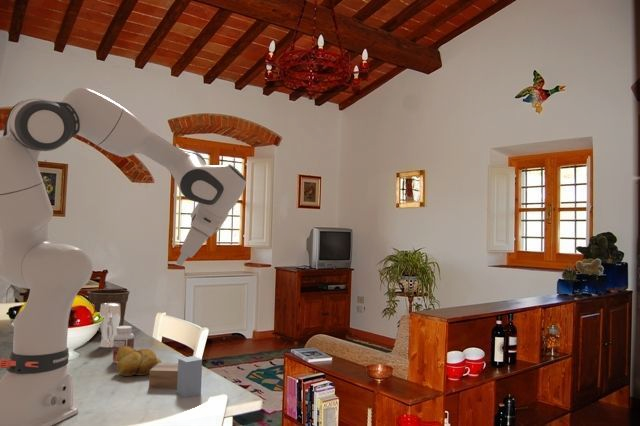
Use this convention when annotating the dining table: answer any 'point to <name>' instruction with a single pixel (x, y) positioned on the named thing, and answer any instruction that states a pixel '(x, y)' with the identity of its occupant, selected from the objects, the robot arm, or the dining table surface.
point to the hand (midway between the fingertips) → (181, 258)
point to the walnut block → (164, 376)
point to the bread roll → (135, 361)
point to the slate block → (189, 376)
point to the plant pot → (110, 300)
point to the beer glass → (109, 323)
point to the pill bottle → (122, 340)
